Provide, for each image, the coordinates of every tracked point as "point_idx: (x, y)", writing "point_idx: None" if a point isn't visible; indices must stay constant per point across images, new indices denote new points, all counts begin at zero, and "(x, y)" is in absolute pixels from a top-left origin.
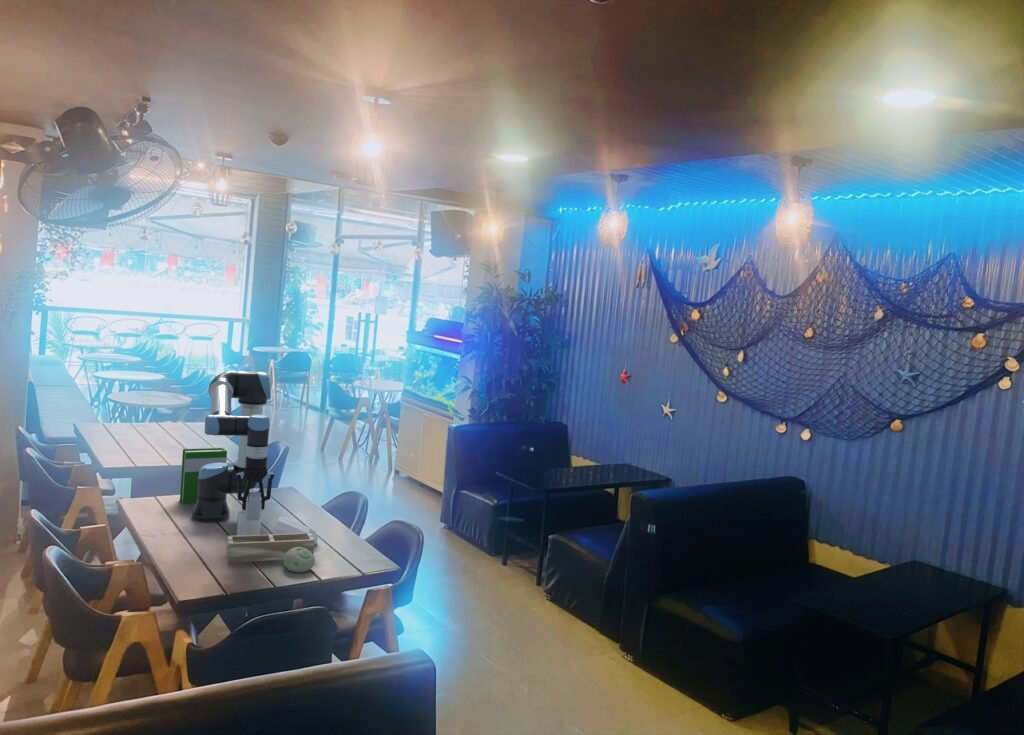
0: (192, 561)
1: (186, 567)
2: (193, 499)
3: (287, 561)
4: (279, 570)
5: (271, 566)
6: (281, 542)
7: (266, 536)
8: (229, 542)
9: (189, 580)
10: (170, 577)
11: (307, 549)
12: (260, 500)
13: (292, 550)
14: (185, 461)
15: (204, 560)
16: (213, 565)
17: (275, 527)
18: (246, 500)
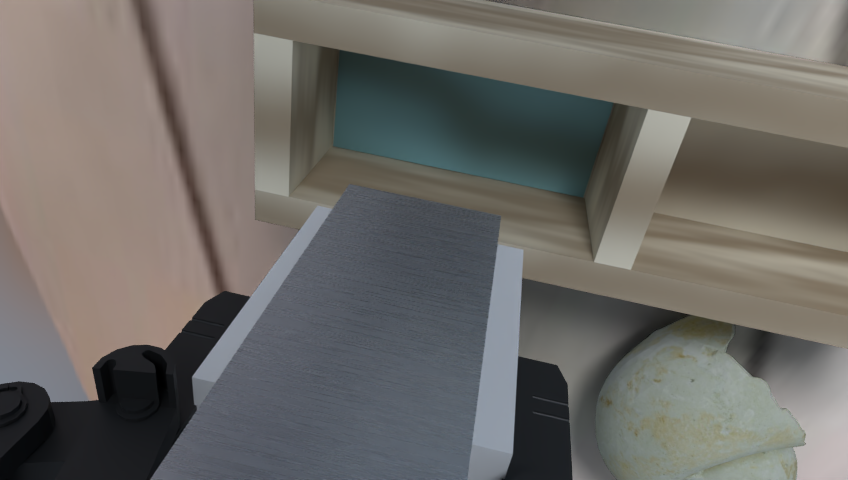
0: (96, 54)
1: (78, 146)
2: None
3: (601, 452)
4: (567, 370)
5: (548, 306)
6: (675, 307)
7: (627, 100)
8: (260, 184)
9: (120, 315)
10: (29, 251)
11: (802, 443)
12: (487, 476)
13: (660, 474)
14: None
15: (167, 61)
16: (224, 170)
17: None
18: (207, 393)
